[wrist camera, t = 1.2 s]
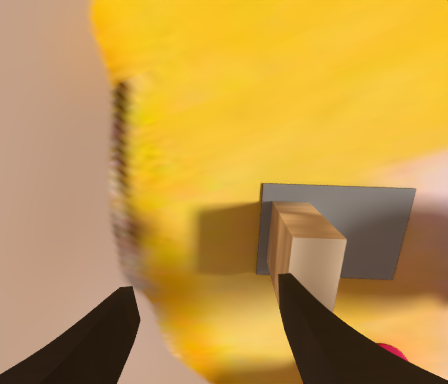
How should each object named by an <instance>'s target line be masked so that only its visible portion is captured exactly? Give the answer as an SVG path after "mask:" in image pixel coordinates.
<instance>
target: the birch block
mask: <svg viewBox="0 0 448 384" xmlns="http://www.w3.org/2000/svg"><path fill="white" fill-rule="evenodd" d="M346 242H347V239H346V238H345V237H344V236H343V235H342V234H341V233H340V232H339V231H338V230H337V229H336V228H335V227H334V226H333V225H332V224H331V223H330V222H329V221H328V220H327V219H326V218H325V217H323V216H322V215H321V214H320V213H319V212H318V211H317V210H316V209H315V208H314V207H313V206H312V205H311V204H310V203H309V202H287V201H272V210H271V221H270V232H269V243H268V254H267V264H268V268H269V271H270V275H271V279H272V282H273V286H274V290H275V293H276V297H277V301H278V304H279V285H278V274H284V273H291V274H292V275H293V276H294V277H295V278H296V279H297V280H298V281H299V282H300V283H301V284H302V285H303V286H304V287H305V288H306V289H307V290H308V291H309V292H310V293H311V294H312V295H313V296H314V297H315V298H316V299H317V300H318V301H320V302H321V303H322V304H323V305H324V306H325V307H326V308H327V309H329V310H330V311H331V312H332V313H333V310H334V305H335V300H336V294H337V289H338V284H339V279H340V273H341V268H342V263H343V258H344V252H345V247H346Z"/></svg>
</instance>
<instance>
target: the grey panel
mask: <svg viewBox="0 0 448 384" xmlns="http://www.w3.org/2000/svg"><path fill="white" fill-rule="evenodd" d="M415 192H416V189H414V188H386V187H357V186H329V185H301V184H273V183H263V194H262V207H261V219H260V232H259V245H258V257H257V270H256V274H257V275H270V271H269V268H268V264H267V254H268V243H269V232H270V221H271V210H272V201H287V202H309V203H310V204H311V205H312V206H313V207H314V208H315V209H316V210H317V211H318V212H319V213H320V214H321V215H322V216H323V217H325V218H326V219H327V220H328V221H329V222H330V223H331V224H332V225H333V226H334V227H335V228H336V229H337V230H338V231H339V232H340V233H341V234H342V235H343V236H344V237H345V238H346V239H347V242H346V247H345V252H344V258H343V263H342V268H341V273H340V278H357V279H382V280H393V276H394V273H395V269H396V265H397V261H398V257H399V253H400V250H401V246H402V242H403V238H404V234H405V230H406V227H407V223H408V219H409V215H410V211H411V207H412V204H413V200H414V196H415Z"/></svg>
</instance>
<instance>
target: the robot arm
mask: <svg viewBox="0 0 448 384" xmlns="http://www.w3.org/2000/svg"><path fill="white" fill-rule="evenodd" d="M278 285H279V309H280V313H281V317H282V322H283V326H284V330H285V333H286V336H287V339H288V341H289V344H290V347H291V350H292V353H293V356H294V358H295V361H296V364H297V367H298V370H299V372H300V375H301V378H302V381H303V384H448V380H445V379H443V378H441V377H439V376H437V375H435V374H433V373H430V372H428V371H426V370H424V369H422V368H420V367H418V366H416V365H414V364H412V363H410V362H408V361H406V360H404V359H403V358H401V357H399V356H397V355H395V354H393V353H392V352H390V351H388V350H386V349H385V348H383V347H381V346H380V345H378V344H376V343H375V342H373V341H371V340H370V339H368V338H367V337H365V336H364V335H362V334H360V333H359V332H357V331H356V330H355V329H353V328H352V327H350V326H349V325H348V324H346V323H345V322H343V321H342V320H341V319H340V318H338V317H337V316H336V315H335V314H333V313H332V312H331V311H330V310H329V309H327V308H326V307H325V306H324V305H323V304H322V303H321V302H320V301H318V300H317V299H316V298H315V297H314V296H313V295H312V294H311V293H310V292H309V291H308V290H307V289H306V288H305V287H304V286H303V285H302V284H301V283H300V282H299V281H298V280H297V279H296V278H295V277H294V276H293V275H292V274H291V273H284V274H278ZM139 324H140V316H139V312H138V308H137V303H136V299H135V295H134V291H133V286H129V287H120V288H119V289H117V290H116V291H115V292H113V293H112V294H111V295H110V296H109V297H108V298H106V299H105V300H104V301H103V302H101V303H100V304H99V305H98V306H97V307H96V308H94V309H93V310H92V311H91V312H90V313H88V314H87V315H86V316H85V317H83V318H82V319H81V320H80V321H78V322H77V323H76V324H75V325H73V326H72V327H71V328H69V329H68V330H67V331H65V332H64V333H63V334H62V335H60V336H59V337H57V338H56V339H55V340H53V341H52V342H50V343H49V344H48V345H46V346H45V347H44V348H42V349H40V350H39V351H37V352H36V353H34V354H33V355H31V356H30V357H28V358H27V359H25V360H23V361H22V362H20V363H18V364H17V365H15V366H13V367H12V368H10V369H8V370H7V371H5V372H4V373H2V374H0V384H117V382H118V379H119V377H120V375H121V372H122V370H123V368H124V365H125V363H126V361H127V358H128V356H129V353H130V351H131V348H132V346H133V344H134V341H135V338H136V334H137V331H138V327H139Z"/></svg>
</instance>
